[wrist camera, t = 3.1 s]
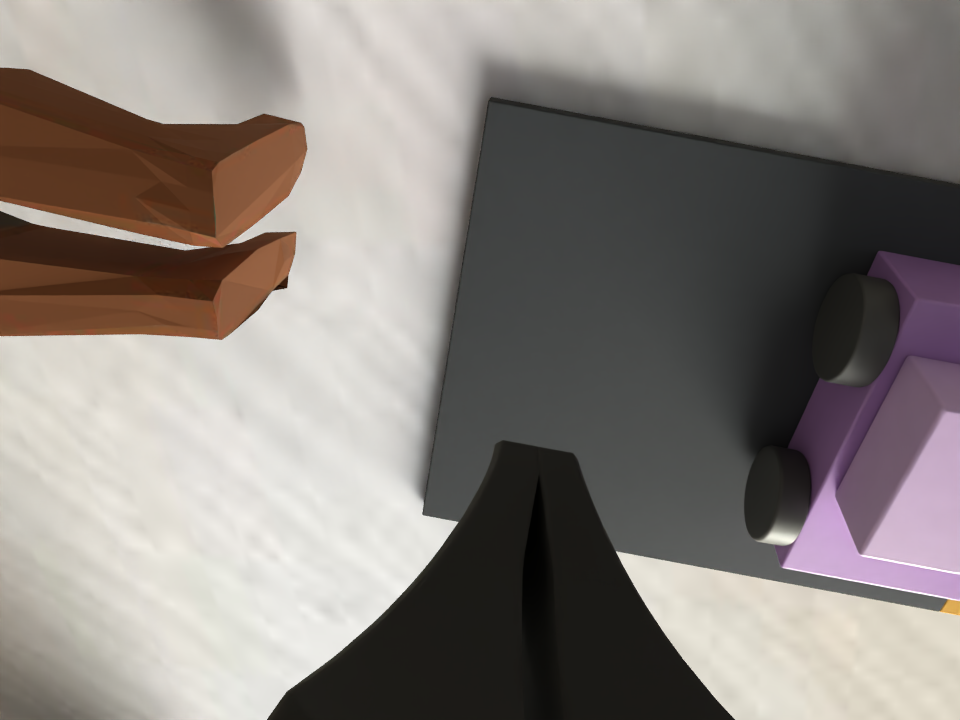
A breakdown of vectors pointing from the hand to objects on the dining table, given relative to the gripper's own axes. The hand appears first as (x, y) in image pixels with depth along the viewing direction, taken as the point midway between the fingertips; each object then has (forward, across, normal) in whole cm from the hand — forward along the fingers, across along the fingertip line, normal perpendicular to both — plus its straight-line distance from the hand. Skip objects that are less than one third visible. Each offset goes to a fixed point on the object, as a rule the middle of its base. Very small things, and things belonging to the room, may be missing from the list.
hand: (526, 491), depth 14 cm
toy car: (+5, -9, 0) cm, 10 cm away
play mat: (+6, -8, 0) cm, 10 cm away
